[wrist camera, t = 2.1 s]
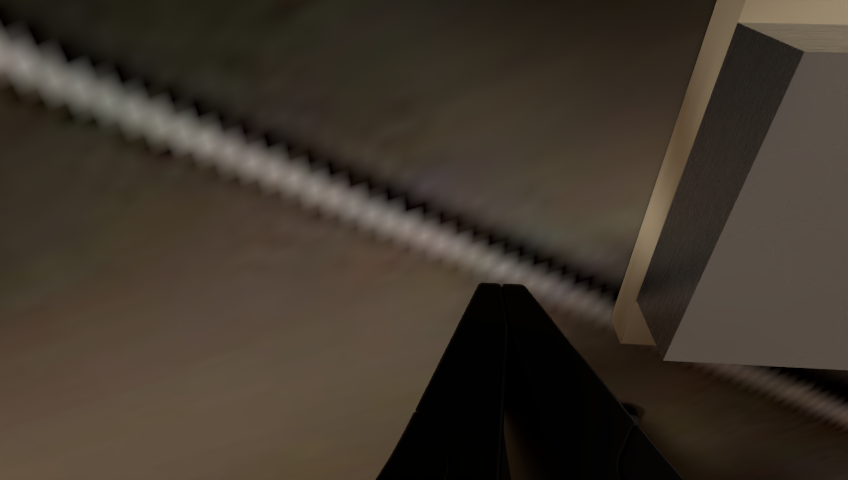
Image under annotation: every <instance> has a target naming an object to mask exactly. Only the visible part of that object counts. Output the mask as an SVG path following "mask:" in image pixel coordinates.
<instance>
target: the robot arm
mask: <svg viewBox="0 0 848 480" xmlns="http://www.w3.org/2000/svg"><path fill="white" fill-rule="evenodd" d="M639 423H640V418H639V415H638V412H637V410H636V409H635V408H633V407H629V406H622V405H621V403H620V402H619V401H618V400H617V398H616V397H615V396H614V395H613V394H612V392H611V391H610V390H609V389H608V387H607V386H606V385H605V384H604V382H603V381H602V380H601V379H600V378H599V376H598V375H597V374H596V373H595V371H594V370H593V369H592V368H591V367H590V365H589V364H588V363H587V362H586V360H585V359H584V358H583V357H582V356H581V354H580V353H579V352H578V351H577V349H576V348H575V347H574V346H573V345H572V343H571V342H570V341H569V340H568V338H567V337H566V336H565V335H564V333H563V332H562V331H561V330H560V329H559V327H558V326H557V325H556V324H555V322H554V321H553V320H552V319H551V318H550V316H549V315H548V314H547V313H546V311H545V310H544V309H543V308H542V307H541V305H540V304H539V303H538V302H537V300H536V299H535V298H534V297H533V296H532V294H531V293H530V292H529V291H528V289H527V288H526V287H525V286H523V285H520V284H503V285H502V287H501V285H500V284H497V283H480V284H479V285H478V286H477V288H476V290H475V292H474V294H473V296H472V298H471V300H470V302H469V304H468V306H467V308H466V310H465V312H464V314H463V316H462V318H461V320H460V322H459V324H458V326H457V328H456V330H455V332H454V334H453V336H452V338H451V340H450V342H449V344H448V346H447V348H446V350H445V352H444V354H443V356H442V358H441V360H440V362H439V364H438V366H437V368H436V370H435V372H434V374H433V376H432V378H431V380H430V382H429V384H428V386H427V388H426V390H425V392H424V394H423V396H422V398H421V400H420V402H419V404H418V406H417V408H416V412H414V413H413V415H412V417H411V419H410V421H409V423H408V425H407V427H406V429H405V431H404V433H403V434H402V436H401V438H400V440H399V442H398V443H397V445H396V447H395V449H394V451H393V453H392V454H391V456H390V458H389V459H388V461H387V462H386V464H385V466H384V467H383V469H382V470H381V472H380V473H379V475H378V477H377V478H376V480H685V479H684V478H683V477H682V476H681V475H680V474H679V473H678V472H677V470H676V469H675V468H674V467H673V466H672V465H671V463H670V462H669V461H668V460H667V459H666V458H665V456H664V455H663V454H662V453H661V452H660V451H659V449H658V448H657V447H656V446H655V445H654V443H653V442H652V441H651V440H650V439H649V437H648V436H647V435H646V434H645V432H644V431H643V430H642V429H641V428H640V426H638V425H639Z"/></svg>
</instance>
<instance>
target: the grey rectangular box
mask: <svg viewBox="0 0 848 480" xmlns="http://www.w3.org/2000/svg"><path fill="white" fill-rule="evenodd" d="M636 301H637V303H638V305H639V307H640V310H641V312H642V314H643V317H644V319H645V321H646V323H647V326H648V328H649V330H650V332H651V335H652V337H653V339H654V341H655V344H656V346H657V348H658V350H659V353H660V355H661V357H662V359H663V361H681V362H700V363H719V364H738V365H758V366H777V367H796V368H815V369H834V370H848V25H837V24H787V23H737V26H736V28H735V31H734V34H733V37H732V39H731V42H730V45H729V47H728V50H727V53H726V56H725V58H724V61H723V64H722V67H721V69H720V72H719V75H718V77H717V80H716V83H715V86H714V88H713V91H712V94H711V97H710V99H709V102H708V105H707V108H706V110H705V113H704V116H703V118H702V121H701V124H700V127H699V129H698V132H697V135H696V138H695V140H694V143H693V146H692V148H691V151H690V154H689V157H688V159H687V162H686V165H685V168H684V170H683V173H682V176H681V179H680V181H679V184H678V187H677V189H676V192H675V195H674V198H673V200H672V203H671V206H670V209H669V211H668V214H667V217H666V219H665V222H664V225H663V228H662V230H661V233H660V236H659V239H658V241H657V244H656V247H655V250H654V252H653V255H652V258H651V260H650V263H649V266H648V269H647V271H646V274H645V277H644V280H643V282H642V285H641V288H640V290H639V293H638V296H637V299H636Z"/></svg>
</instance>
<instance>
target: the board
mask: <svg viewBox="0 0 848 480" xmlns="http://www.w3.org/2000/svg"><path fill="white" fill-rule="evenodd" d="M737 23H787V24H837V25H848V0H717V1H716V4H715V7H714V10H713V13H712V16H711V19H710V22H709V25H708V28H707V31H706V34H705V37H704V40H703V43H702V46H701V49H700V52H699V55H698V58H697V61H696V64H695V67H694V70H693V73H692V76H691V79H690V82H689V85H688V88H687V91H686V94H685V97H684V100H683V103H682V106H681V109H680V112H679V115H678V118H677V121H676V124H675V127H674V130H673V133H672V136H671V139H670V142H669V145H668V148H667V151H666V154H665V157H664V160H663V163H662V166H661V169H660V172H659V175H658V178H657V181H656V184H655V187H654V190H653V193H652V196H651V199H650V202H649V205H648V208H647V211H646V214H645V217H644V220H643V223H642V226H641V229H640V232H639V235H638V238H637V241H636V244H635V247H634V250H633V253H632V256H631V259H630V262H629V265H628V268H627V271H626V274H625V277H624V280H623V283H622V286H621V289H620V292H619V295H618V298H617V301H616V304H615V307H614V310H613V313H612V316H611V320H612V323H613V326H614V328H615V331H616V334H617V337H618V339H619V342H620V344H638V345H656V344H655V341H654V339H653V337H652V335H651V332H650V330H649V328H648V326H647V323H646V321H645V319H644V317H643V314H642V312H641V310H640V307H639V305H638V303H637V301H636V299H637V296H638V293H639V290H640V288H641V285H642V282H643V280H644V277H645V274H646V271H647V269H648V266H649V263H650V260H651V258H652V255H653V252H654V250H655V247H656V244H657V241H658V239H659V236H660V233H661V230H662V228H663V225H664V222H665V219H666V217H667V214H668V211H669V209H670V206H671V203H672V200H673V198H674V195H675V192H676V189H677V187H678V184H679V181H680V179H681V176H682V173H683V170H684V168H685V165H686V162H687V159H688V157H689V154H690V151H691V148H692V146H693V143H694V140H695V138H696V135H697V132H698V129H699V127H700V124H701V121H702V118H703V116H704V113H705V110H706V108H707V105H708V102H709V99H710V97H711V94H712V91H713V88H714V86H715V83H716V80H717V77H718V75H719V72H720V69H721V67H722V64H723V61H724V58H725V56H726V53H727V50H728V47H729V45H730V42H731V39H732V37H733V34H734V31H735V28H736V26H737Z"/></svg>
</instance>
